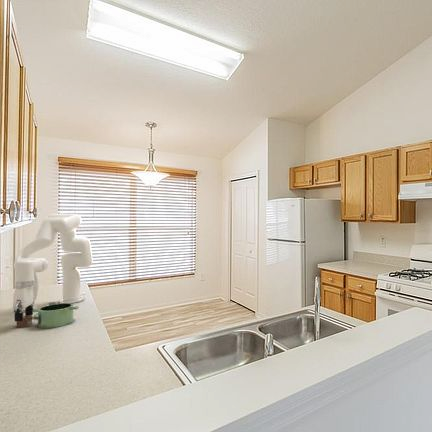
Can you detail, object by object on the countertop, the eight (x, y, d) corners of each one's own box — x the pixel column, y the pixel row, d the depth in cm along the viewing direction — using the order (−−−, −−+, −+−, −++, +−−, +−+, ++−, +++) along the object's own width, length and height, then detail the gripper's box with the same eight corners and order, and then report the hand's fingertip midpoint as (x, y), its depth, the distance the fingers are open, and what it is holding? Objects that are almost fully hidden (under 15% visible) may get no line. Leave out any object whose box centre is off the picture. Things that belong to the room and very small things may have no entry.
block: (21, 324, 163) (21, 315, 163) (32, 323, 165) (32, 314, 165) (16, 327, 159) (16, 318, 159) (27, 326, 160) (27, 317, 160)
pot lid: (42, 311, 185) (42, 300, 185) (73, 309, 189) (73, 298, 189) (28, 320, 170) (28, 307, 170) (62, 317, 174) (62, 305, 174)
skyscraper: (34, 306, 195) (34, 261, 195) (41, 308, 191) (41, 262, 191) (17, 310, 187) (18, 263, 187) (24, 312, 183) (24, 264, 183)
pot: (40, 320, 170) (40, 304, 170) (82, 317, 175) (82, 301, 175) (25, 329, 156) (25, 312, 156) (72, 326, 161) (72, 309, 161)
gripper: (24, 281, 169) (24, 313, 169) (5, 288, 152) (5, 324, 152) (41, 280, 171) (40, 312, 171) (23, 287, 154) (23, 322, 154)
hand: (24, 318), depth 161 cm, fingers open, 9 cm apart
